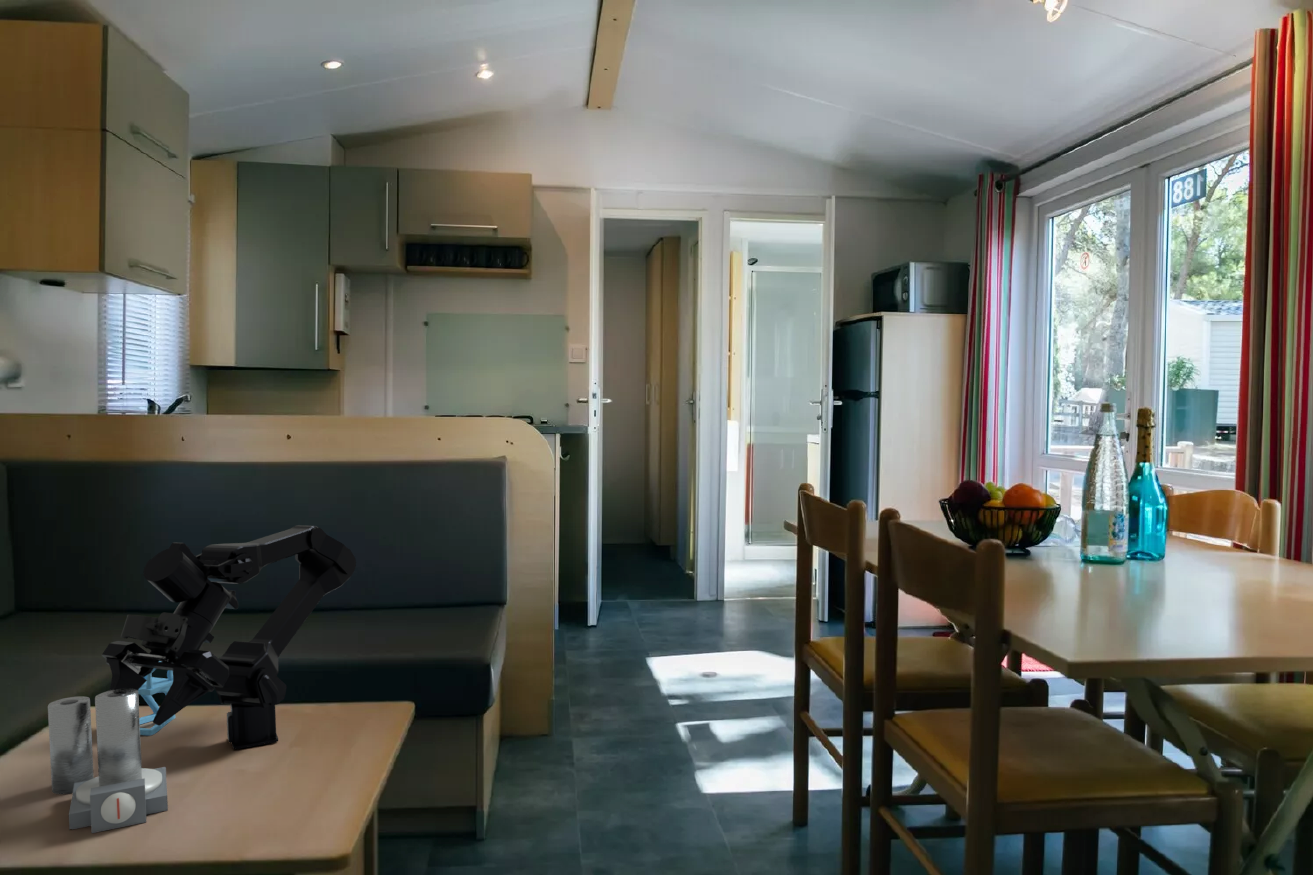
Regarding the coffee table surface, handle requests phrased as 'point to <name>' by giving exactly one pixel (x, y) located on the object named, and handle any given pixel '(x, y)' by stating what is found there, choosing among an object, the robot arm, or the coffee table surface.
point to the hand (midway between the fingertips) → (130, 720)
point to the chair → (146, 691)
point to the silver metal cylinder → (118, 736)
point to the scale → (118, 801)
